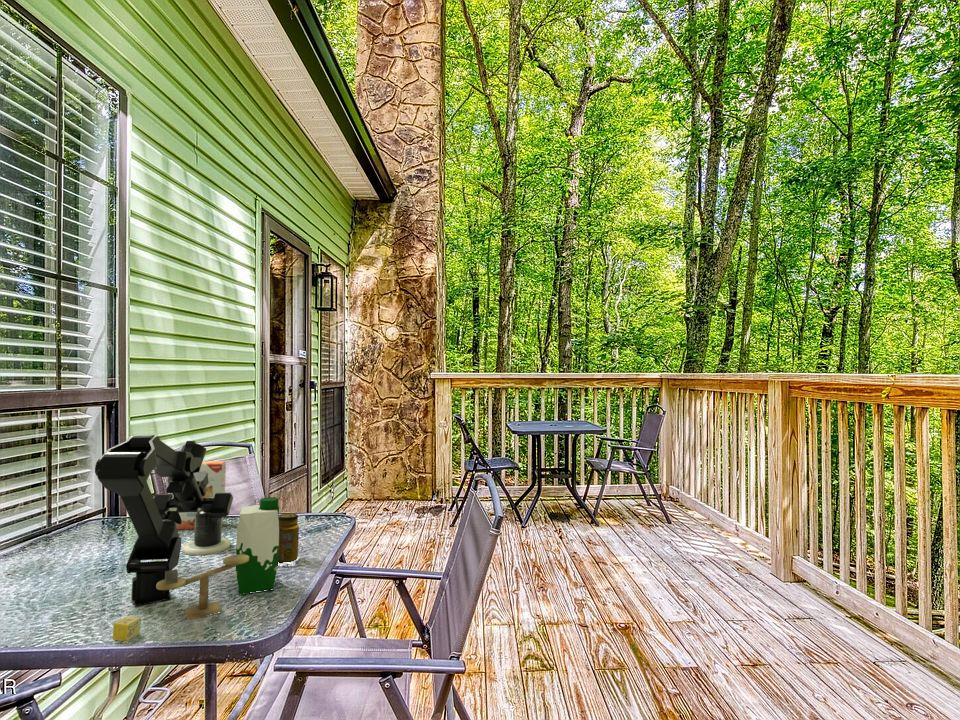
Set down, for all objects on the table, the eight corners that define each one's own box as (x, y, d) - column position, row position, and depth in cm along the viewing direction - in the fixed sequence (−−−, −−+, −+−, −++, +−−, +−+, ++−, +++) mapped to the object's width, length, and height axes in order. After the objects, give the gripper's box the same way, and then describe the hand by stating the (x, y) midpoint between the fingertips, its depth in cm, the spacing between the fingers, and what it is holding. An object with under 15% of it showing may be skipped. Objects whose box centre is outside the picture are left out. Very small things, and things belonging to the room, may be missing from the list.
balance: (244, 599, 113) (246, 552, 113) (249, 607, 108) (251, 559, 109) (153, 618, 103) (155, 567, 103) (155, 628, 99) (157, 575, 99)
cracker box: (170, 530, 162) (173, 463, 163) (177, 525, 168) (180, 461, 169) (219, 528, 166) (221, 463, 167) (224, 523, 172) (226, 460, 172)
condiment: (303, 556, 141) (304, 512, 141) (292, 567, 132) (294, 520, 133) (275, 556, 140) (277, 511, 141) (263, 567, 132) (265, 520, 132)
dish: (226, 539, 154) (226, 534, 155) (234, 550, 145) (234, 545, 145) (180, 546, 147) (180, 541, 148) (185, 558, 138) (185, 552, 138)
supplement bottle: (209, 538, 151) (211, 497, 151) (226, 541, 148) (228, 499, 148) (188, 545, 144) (190, 501, 145) (205, 548, 142) (207, 504, 142)
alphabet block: (140, 633, 97) (141, 616, 97) (126, 641, 94) (127, 624, 94) (126, 632, 97) (126, 615, 97) (112, 640, 94) (112, 623, 94)
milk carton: (277, 591, 117) (280, 502, 118) (233, 597, 113) (236, 505, 114) (277, 578, 125) (280, 494, 126) (235, 582, 121) (239, 496, 122)
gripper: (232, 462, 137) (242, 496, 147) (155, 463, 134) (171, 498, 144) (221, 498, 129) (233, 531, 139) (139, 500, 126) (157, 534, 136)
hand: (198, 522), depth 140 cm, fingers open, 9 cm apart
